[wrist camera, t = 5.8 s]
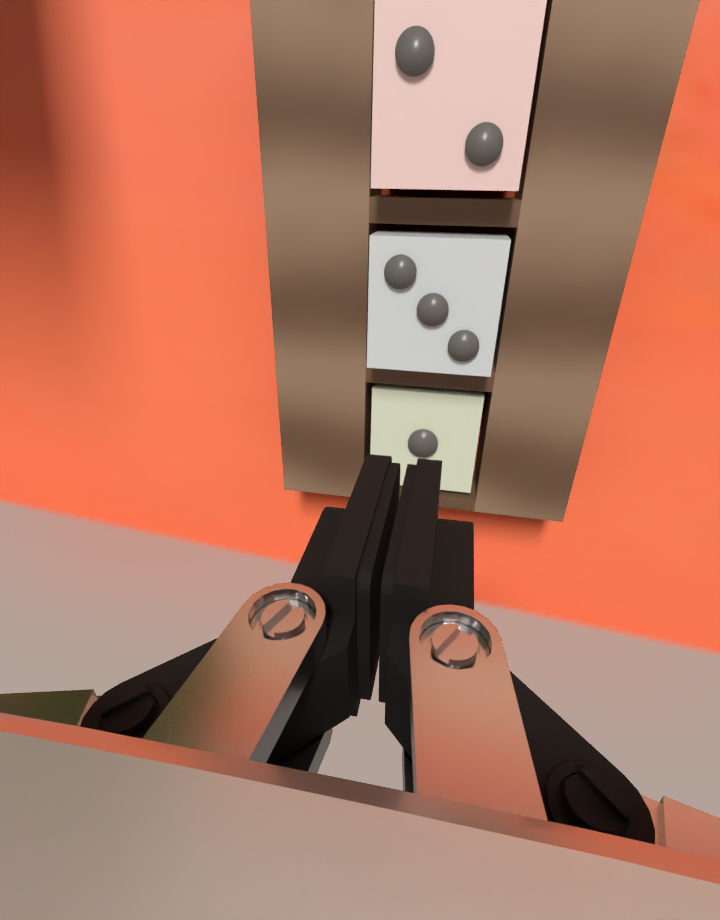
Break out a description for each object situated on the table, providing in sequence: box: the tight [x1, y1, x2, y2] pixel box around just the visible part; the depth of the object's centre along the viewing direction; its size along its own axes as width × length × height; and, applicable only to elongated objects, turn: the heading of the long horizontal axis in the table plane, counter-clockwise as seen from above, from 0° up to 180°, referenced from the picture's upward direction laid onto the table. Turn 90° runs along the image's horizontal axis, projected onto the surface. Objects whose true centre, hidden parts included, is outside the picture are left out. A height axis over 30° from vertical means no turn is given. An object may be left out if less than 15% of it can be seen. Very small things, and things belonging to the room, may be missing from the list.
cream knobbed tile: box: [370, 383, 484, 493], centre depth 24 cm, size 5×5×3 cm
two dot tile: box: [371, 0, 547, 191], centre depth 17 cm, size 5×5×3 cm
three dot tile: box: [367, 230, 511, 377], centre depth 20 cm, size 5×5×3 cm
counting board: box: [250, 0, 700, 522], centre depth 22 cm, size 20×14×3 cm
